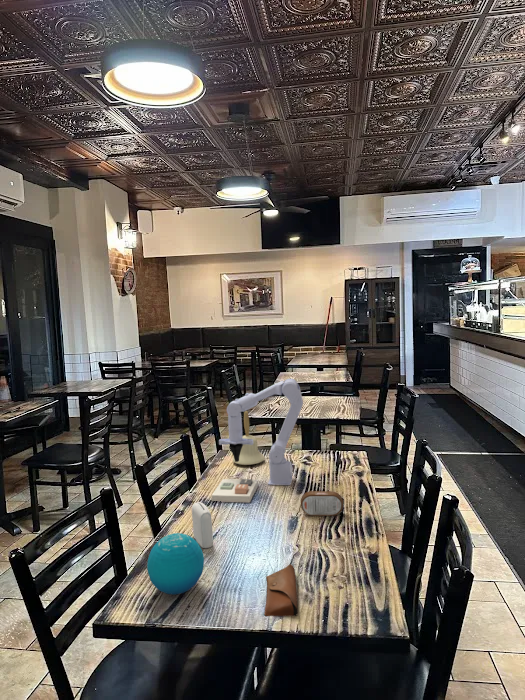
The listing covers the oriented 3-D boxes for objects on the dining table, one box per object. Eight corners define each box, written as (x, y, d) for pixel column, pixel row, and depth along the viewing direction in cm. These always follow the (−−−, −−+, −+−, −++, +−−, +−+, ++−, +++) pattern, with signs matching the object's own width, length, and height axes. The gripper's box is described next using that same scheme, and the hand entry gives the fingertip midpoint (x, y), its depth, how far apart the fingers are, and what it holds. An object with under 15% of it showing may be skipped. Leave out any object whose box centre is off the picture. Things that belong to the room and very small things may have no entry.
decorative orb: (169, 570, 138) (166, 520, 136) (215, 579, 132) (212, 527, 131) (137, 600, 124) (133, 545, 123) (187, 612, 118) (183, 555, 117)
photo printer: (191, 536, 157) (189, 500, 156) (204, 533, 159) (202, 497, 158) (202, 550, 148) (199, 512, 147) (215, 546, 150) (212, 508, 149)
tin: (343, 513, 169) (342, 490, 168) (344, 517, 166) (343, 493, 165) (301, 513, 171) (300, 490, 170) (300, 517, 168) (299, 494, 167)
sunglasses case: (264, 574, 133) (275, 554, 132) (286, 586, 133) (297, 566, 132) (263, 617, 115) (276, 594, 114) (289, 630, 115) (302, 607, 115)
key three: (233, 489, 194) (233, 482, 194) (231, 494, 190) (230, 486, 189) (223, 489, 195) (223, 482, 194) (220, 493, 190) (220, 486, 190)
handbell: (252, 469, 218) (249, 416, 215) (226, 465, 226) (223, 413, 224) (270, 459, 231) (268, 409, 228) (245, 455, 239) (242, 406, 236)
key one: (252, 486, 197) (252, 478, 196) (250, 490, 192) (250, 482, 192) (242, 486, 197) (241, 478, 197) (239, 490, 193) (239, 482, 193)
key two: (248, 491, 189) (248, 483, 188) (246, 496, 184) (245, 488, 184) (237, 491, 189) (237, 483, 189) (235, 495, 185) (234, 488, 185)
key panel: (258, 485, 199) (257, 479, 198) (249, 502, 182) (249, 496, 182) (223, 484, 201) (222, 479, 201) (211, 501, 185) (211, 495, 184)
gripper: (216, 432, 198) (218, 463, 200) (250, 432, 196) (252, 464, 197) (220, 427, 205) (222, 458, 207) (253, 427, 203) (255, 458, 204)
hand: (237, 460), depth 202 cm, fingers closed
